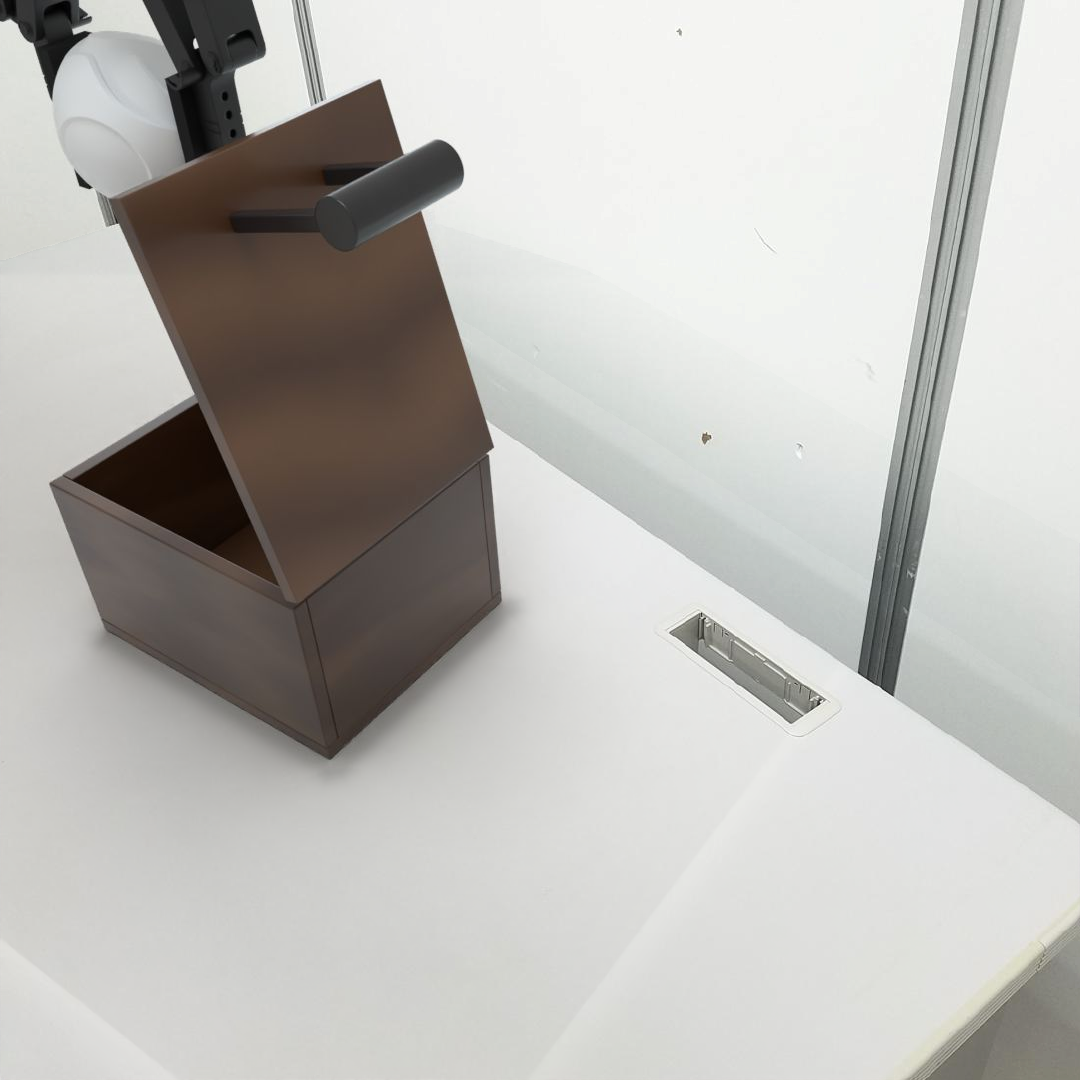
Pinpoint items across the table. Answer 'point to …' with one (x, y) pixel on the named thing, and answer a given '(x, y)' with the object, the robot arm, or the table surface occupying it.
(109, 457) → the compartment
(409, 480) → the compartment door
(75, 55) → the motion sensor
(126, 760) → the table surface
